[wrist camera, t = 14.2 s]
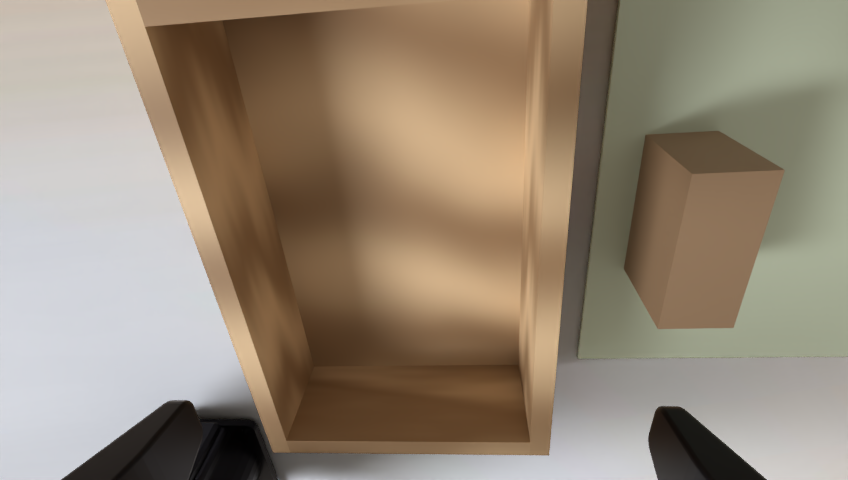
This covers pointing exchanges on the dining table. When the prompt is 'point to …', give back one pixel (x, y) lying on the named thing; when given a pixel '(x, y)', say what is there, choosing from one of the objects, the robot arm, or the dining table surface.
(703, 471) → the robot arm
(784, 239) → the lid
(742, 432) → the dining table surface
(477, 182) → the tan wooden box
